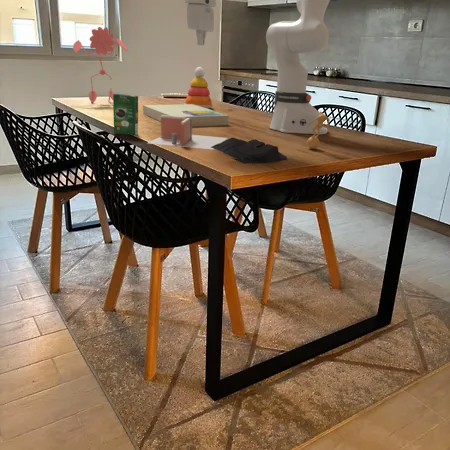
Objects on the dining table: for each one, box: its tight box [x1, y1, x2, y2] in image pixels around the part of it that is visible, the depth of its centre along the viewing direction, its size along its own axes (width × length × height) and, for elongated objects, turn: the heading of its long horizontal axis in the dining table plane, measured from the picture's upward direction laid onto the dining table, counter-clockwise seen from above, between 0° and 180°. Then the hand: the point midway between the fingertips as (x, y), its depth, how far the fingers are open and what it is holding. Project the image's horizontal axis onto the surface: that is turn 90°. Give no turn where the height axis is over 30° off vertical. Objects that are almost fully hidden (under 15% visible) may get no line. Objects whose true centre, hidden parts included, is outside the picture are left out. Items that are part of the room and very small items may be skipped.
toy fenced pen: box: [147, 134, 229, 151], centre depth 147 cm, size 21×20×4 cm
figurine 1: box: [72, 26, 129, 107], centre depth 220 cm, size 15×26×35 cm, turn 125°
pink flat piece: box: [160, 115, 193, 140], centre depth 148 cm, size 10×2×7 cm, turn 77°
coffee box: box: [112, 93, 139, 136], centre depth 151 cm, size 8×3×13 cm, turn 75°
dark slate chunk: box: [211, 137, 288, 165], centre depth 134 cm, size 15×22×5 cm
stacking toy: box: [183, 66, 214, 109], centre depth 224 cm, size 14×14×20 cm
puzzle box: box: [142, 103, 229, 128], centre depth 191 cm, size 36×5×24 cm
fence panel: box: [180, 118, 190, 145], centre depth 142 cm, size 9×1×7 cm, turn 173°
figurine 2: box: [306, 111, 330, 150], centre depth 143 cm, size 8×6×12 cm
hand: (201, 45), depth 155 cm, fingers closed
